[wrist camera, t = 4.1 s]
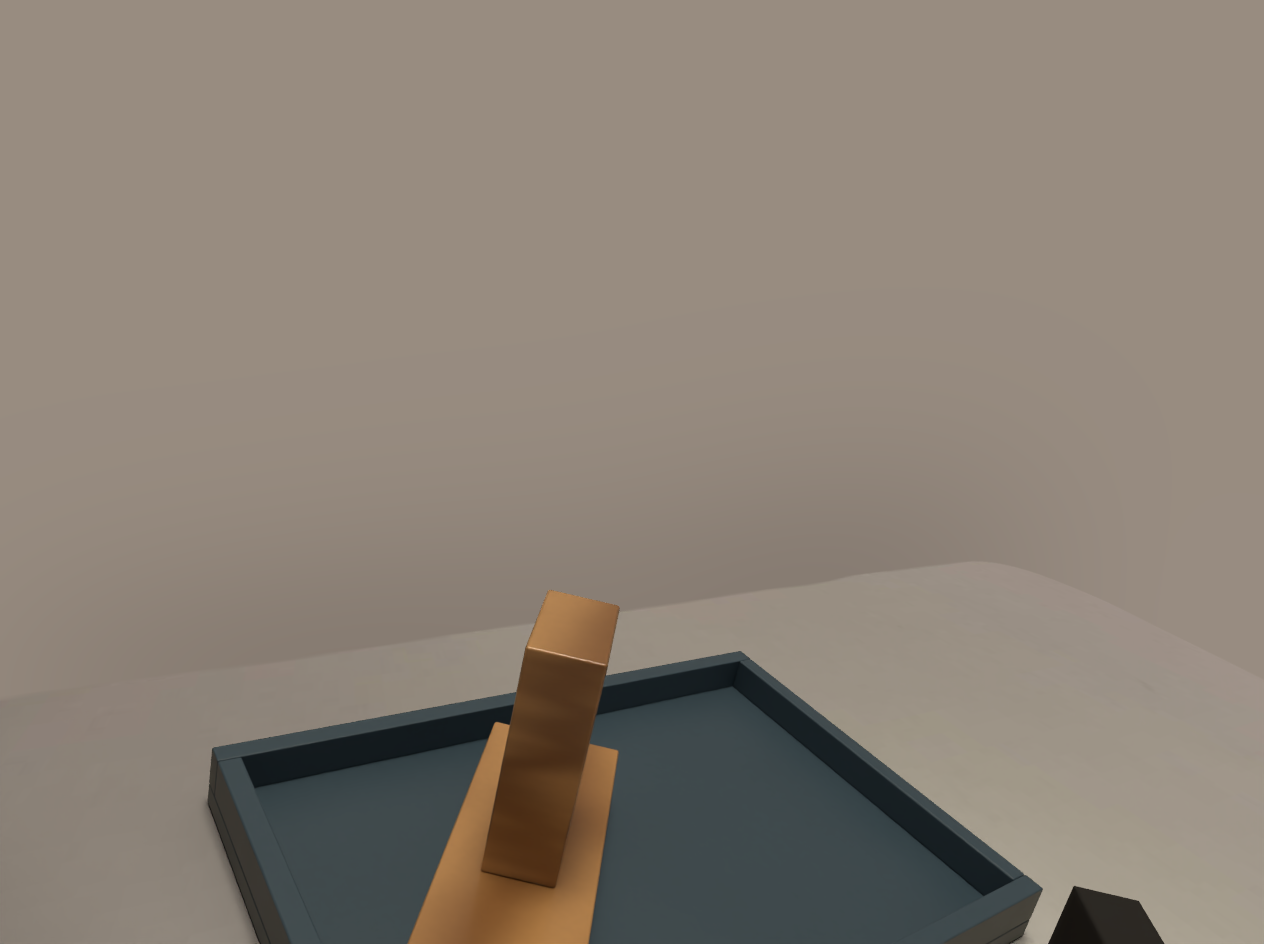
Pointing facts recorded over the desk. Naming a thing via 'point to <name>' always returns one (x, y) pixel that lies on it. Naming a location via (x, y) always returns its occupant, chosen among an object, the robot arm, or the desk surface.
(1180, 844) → the desk surface
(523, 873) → the wooden block on base
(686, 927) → the tray
